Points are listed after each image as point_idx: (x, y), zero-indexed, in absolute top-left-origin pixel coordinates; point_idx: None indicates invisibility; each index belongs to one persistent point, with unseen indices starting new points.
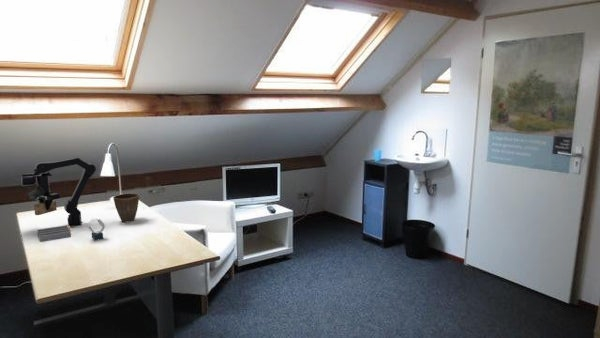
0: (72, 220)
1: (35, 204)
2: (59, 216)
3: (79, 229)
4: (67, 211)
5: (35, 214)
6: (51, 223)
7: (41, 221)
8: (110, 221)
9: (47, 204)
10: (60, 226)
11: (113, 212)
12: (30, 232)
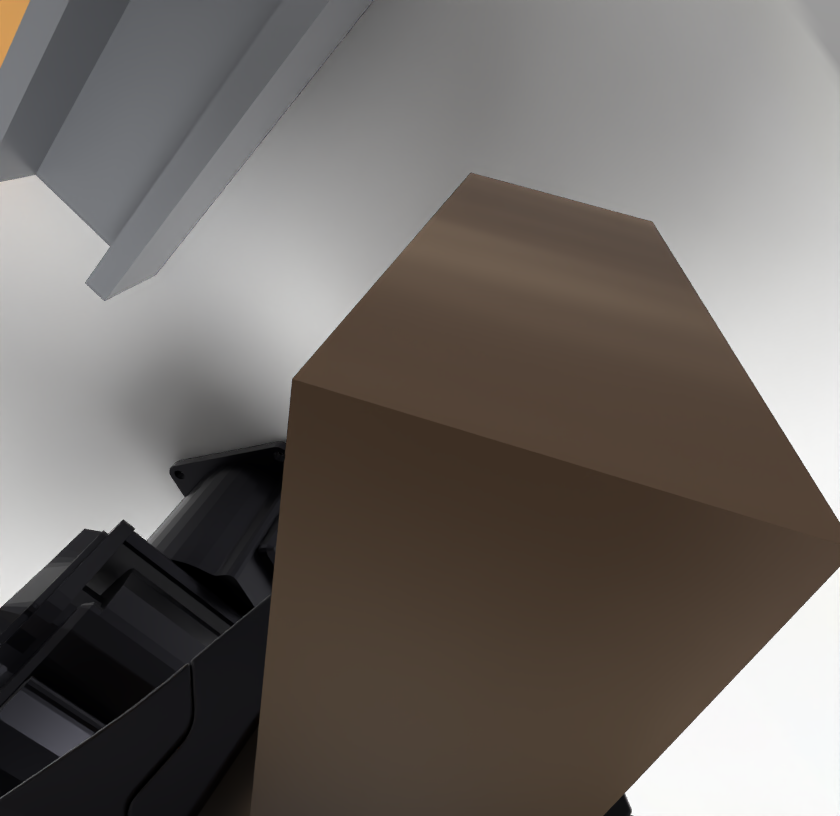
0: (206, 503)
1: (719, 643)
2: (682, 780)
3: (23, 300)
4: (112, 594)
5: (628, 219)
6: None
7: (832, 654)
8: (13, 568)
9: (149, 707)
10: (134, 217)
11: None
12: (709, 54)
